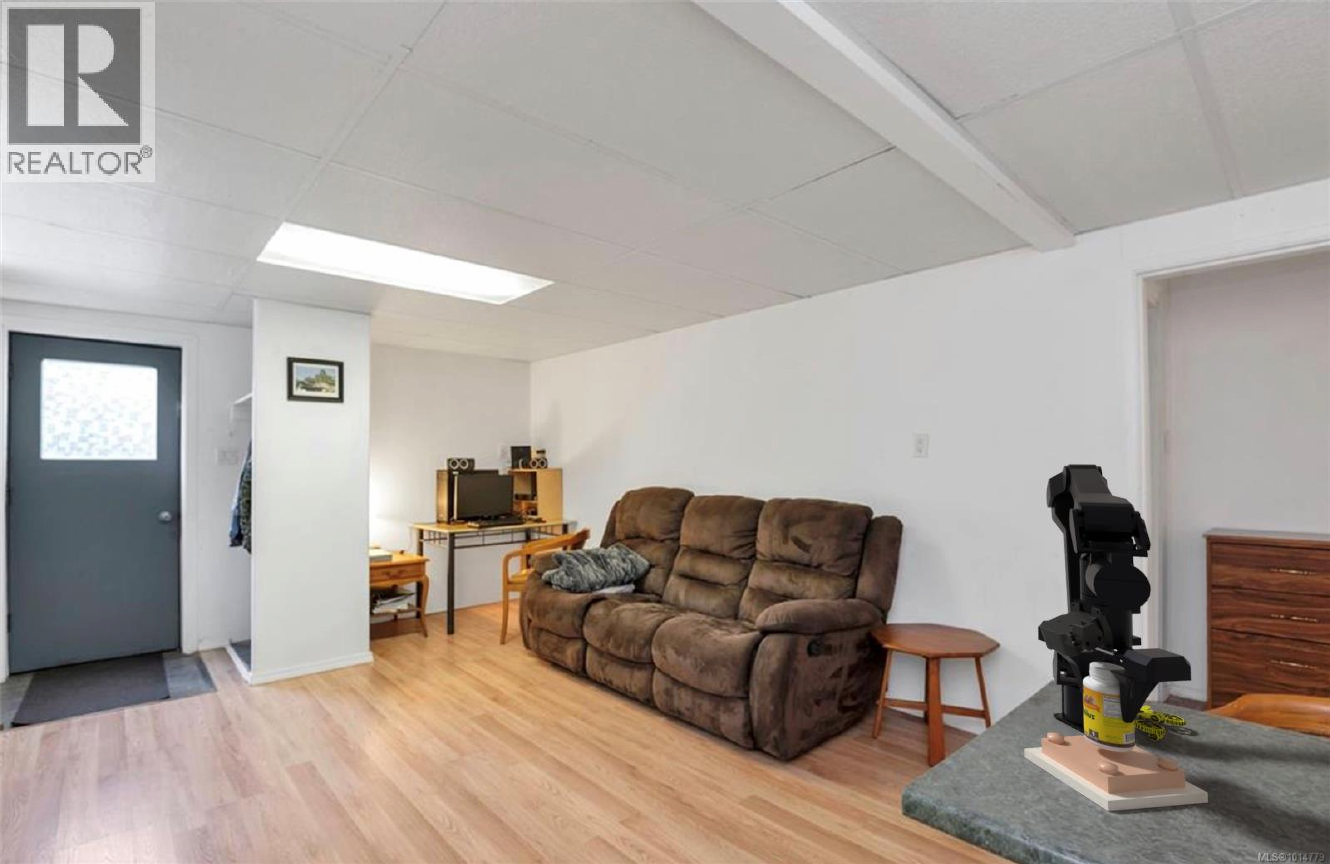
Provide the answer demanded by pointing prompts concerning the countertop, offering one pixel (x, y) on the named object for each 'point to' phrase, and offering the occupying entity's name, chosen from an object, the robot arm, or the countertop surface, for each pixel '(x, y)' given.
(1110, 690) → the supplement bottle
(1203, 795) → the tower base
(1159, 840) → the countertop surface
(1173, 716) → the toy motorcycle
